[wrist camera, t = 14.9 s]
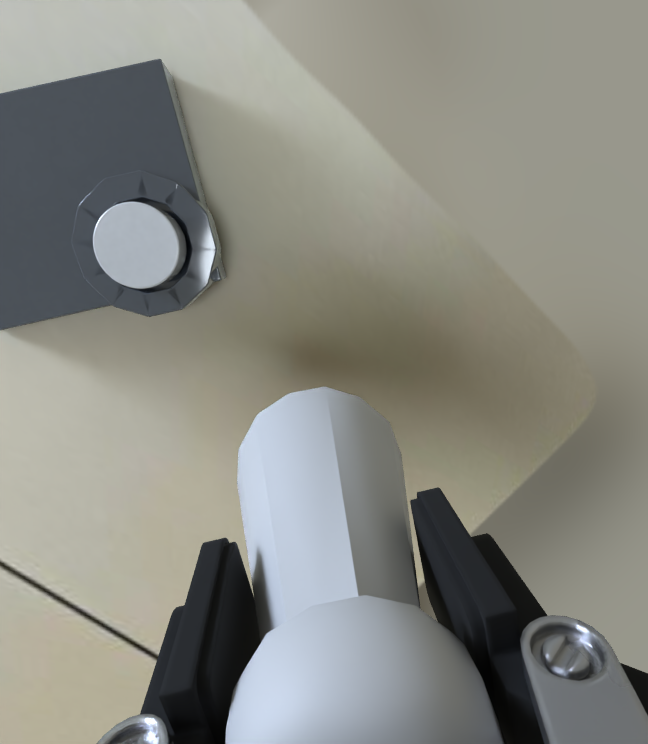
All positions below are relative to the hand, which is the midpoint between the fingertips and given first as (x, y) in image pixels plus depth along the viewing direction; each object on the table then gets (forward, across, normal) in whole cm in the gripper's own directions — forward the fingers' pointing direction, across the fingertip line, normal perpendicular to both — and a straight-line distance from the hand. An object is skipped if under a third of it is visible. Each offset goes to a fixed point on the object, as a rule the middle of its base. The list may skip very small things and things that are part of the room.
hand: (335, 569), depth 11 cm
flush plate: (+19, +10, -12) cm, 25 cm away
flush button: (+15, +6, -9) cm, 19 cm away
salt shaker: (+8, 0, 0) cm, 8 cm away
